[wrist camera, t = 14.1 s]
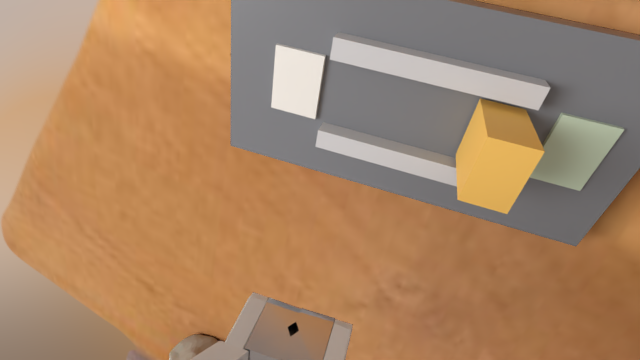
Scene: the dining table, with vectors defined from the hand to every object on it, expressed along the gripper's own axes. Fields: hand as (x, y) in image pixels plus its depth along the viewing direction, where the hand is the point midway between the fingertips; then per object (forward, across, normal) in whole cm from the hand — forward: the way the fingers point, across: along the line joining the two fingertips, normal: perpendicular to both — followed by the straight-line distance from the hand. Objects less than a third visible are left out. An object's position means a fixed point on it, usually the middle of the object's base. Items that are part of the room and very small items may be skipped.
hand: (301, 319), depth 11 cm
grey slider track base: (+17, -2, -1) cm, 17 cm away
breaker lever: (+14, -6, -1) cm, 16 cm away
